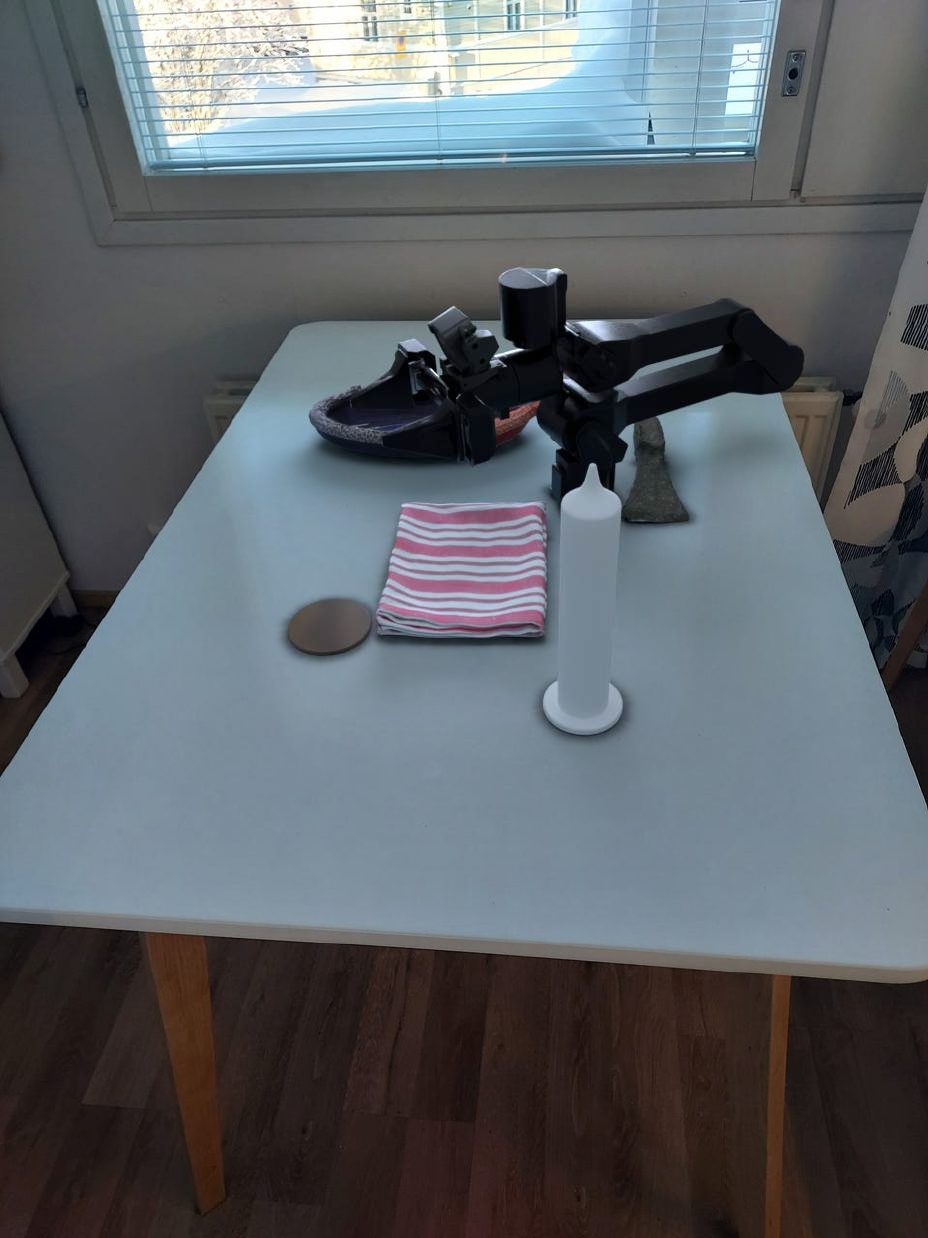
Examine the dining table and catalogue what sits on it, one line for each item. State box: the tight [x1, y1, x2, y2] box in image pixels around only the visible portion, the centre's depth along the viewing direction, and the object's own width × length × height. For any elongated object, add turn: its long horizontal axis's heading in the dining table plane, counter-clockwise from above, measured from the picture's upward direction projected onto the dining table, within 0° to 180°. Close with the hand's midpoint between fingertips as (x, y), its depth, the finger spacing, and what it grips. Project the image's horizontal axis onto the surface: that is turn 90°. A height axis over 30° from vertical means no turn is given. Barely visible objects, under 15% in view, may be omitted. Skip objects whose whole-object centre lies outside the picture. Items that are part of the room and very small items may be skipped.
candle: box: [542, 463, 624, 736], centre depth 75 cm, size 7×7×25 cm
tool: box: [621, 416, 690, 524], centre depth 112 cm, size 21×8×3 cm, turn 177°
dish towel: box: [375, 500, 548, 639], centre depth 98 cm, size 17×23×4 cm
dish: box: [308, 384, 540, 459], centre depth 121 cm, size 16×31×5 cm, turn 84°
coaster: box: [287, 598, 372, 656], centre depth 94 cm, size 8×8×1 cm
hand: (365, 421), depth 92 cm, fingers open, 9 cm apart
